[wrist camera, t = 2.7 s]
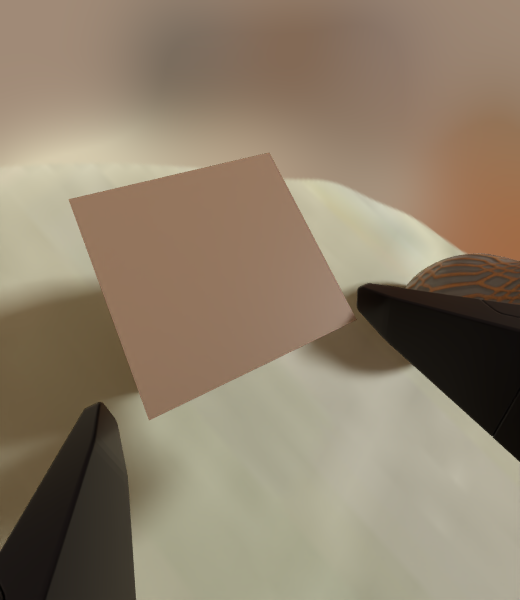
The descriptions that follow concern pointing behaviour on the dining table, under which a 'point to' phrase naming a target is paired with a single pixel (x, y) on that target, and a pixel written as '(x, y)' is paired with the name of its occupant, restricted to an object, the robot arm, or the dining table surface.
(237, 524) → the dining table surface
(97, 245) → the lid
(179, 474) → the dining table surface
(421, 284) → the vase
